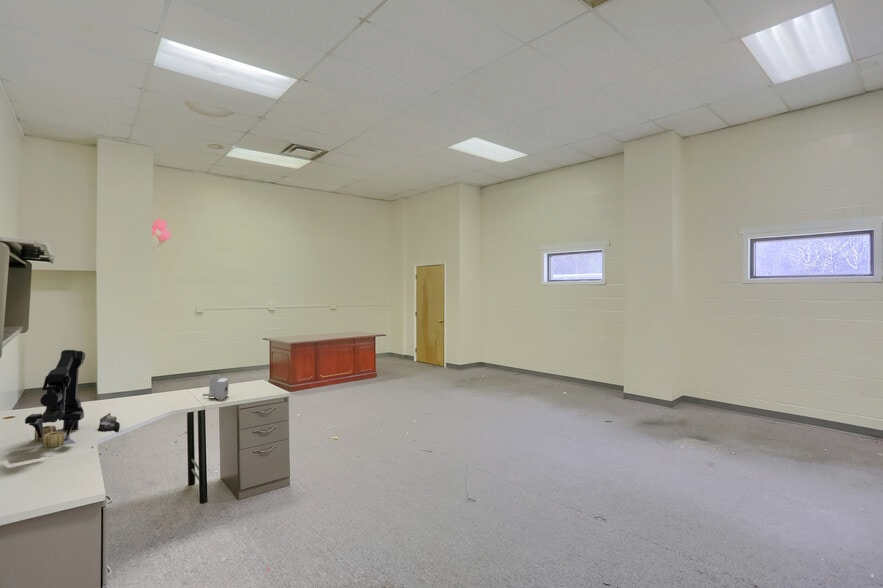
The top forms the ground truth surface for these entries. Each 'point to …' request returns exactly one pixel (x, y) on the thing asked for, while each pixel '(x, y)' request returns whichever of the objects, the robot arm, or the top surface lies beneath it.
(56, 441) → the planet gear
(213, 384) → the grey block housing
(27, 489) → the top surface
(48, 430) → the seated gear
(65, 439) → the sun gear
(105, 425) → the caster wheel
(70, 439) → the plate
